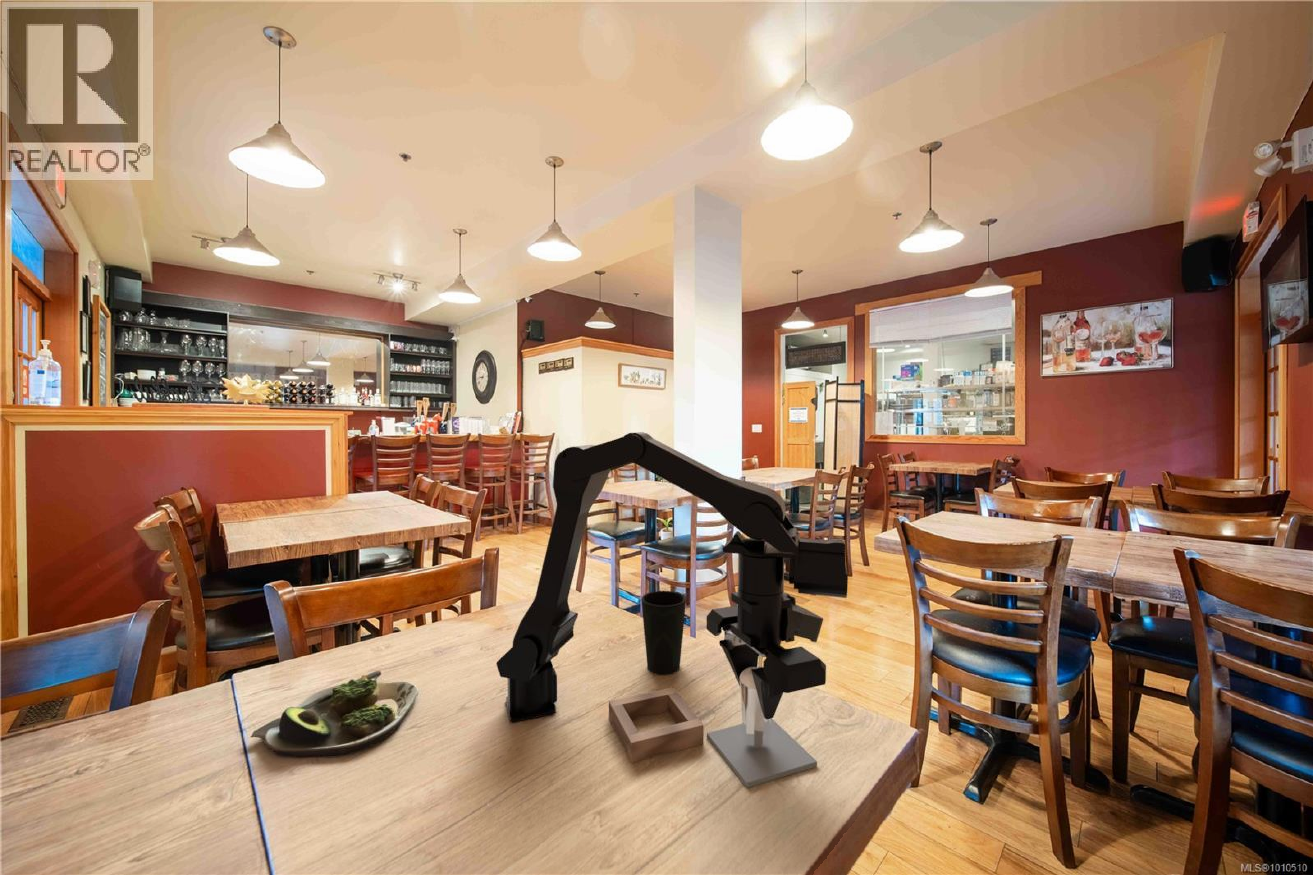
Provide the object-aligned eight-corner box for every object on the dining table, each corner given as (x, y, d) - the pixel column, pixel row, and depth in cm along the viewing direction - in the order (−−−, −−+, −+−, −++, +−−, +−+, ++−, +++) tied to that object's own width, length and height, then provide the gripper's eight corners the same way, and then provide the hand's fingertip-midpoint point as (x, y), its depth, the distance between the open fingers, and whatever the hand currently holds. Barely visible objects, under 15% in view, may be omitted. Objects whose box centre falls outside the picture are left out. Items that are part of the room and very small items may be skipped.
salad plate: (327, 682, 82) (327, 655, 82) (438, 680, 83) (438, 653, 83) (232, 763, 63) (231, 727, 63) (377, 760, 63) (376, 724, 63)
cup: (686, 678, 83) (686, 606, 82) (640, 678, 83) (640, 606, 83) (684, 656, 90) (685, 590, 90) (642, 656, 91) (642, 590, 90)
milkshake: (776, 729, 67) (778, 656, 66) (771, 755, 62) (774, 675, 61) (742, 722, 68) (744, 650, 68) (735, 746, 63) (737, 668, 63)
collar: (631, 762, 62) (631, 742, 62) (608, 718, 72) (608, 701, 72) (703, 743, 66) (703, 724, 66) (673, 703, 75) (673, 687, 75)
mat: (746, 788, 58) (746, 782, 58) (706, 737, 67) (706, 733, 67) (817, 766, 62) (817, 761, 62) (769, 720, 71) (769, 716, 71)
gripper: (865, 605, 58) (862, 737, 59) (771, 562, 76) (769, 664, 76) (784, 618, 54) (782, 760, 55) (705, 570, 71) (704, 678, 72)
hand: (758, 708), depth 64 cm, fingers closed on milkshake, 4 cm apart
